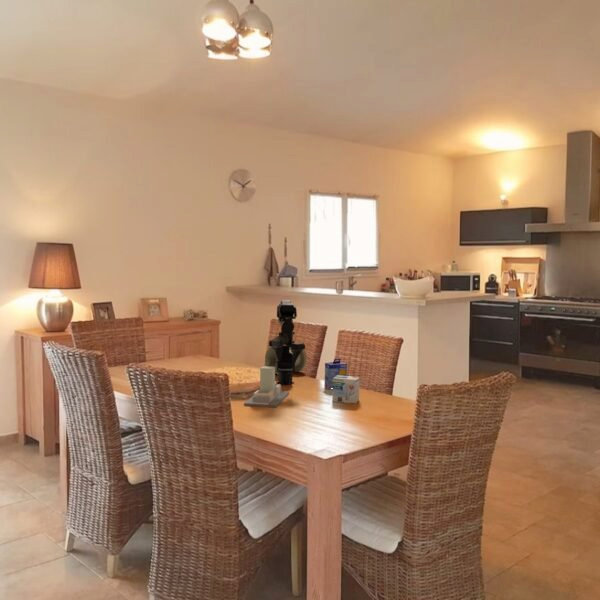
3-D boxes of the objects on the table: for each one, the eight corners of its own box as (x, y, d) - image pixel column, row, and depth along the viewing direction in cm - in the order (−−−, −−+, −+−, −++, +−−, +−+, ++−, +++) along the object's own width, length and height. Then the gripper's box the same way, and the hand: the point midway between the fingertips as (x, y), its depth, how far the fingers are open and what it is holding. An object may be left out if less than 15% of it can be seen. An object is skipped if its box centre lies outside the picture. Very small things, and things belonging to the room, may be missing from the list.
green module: (263, 394, 284) (263, 366, 283) (274, 395, 283) (275, 366, 282) (260, 397, 279) (260, 368, 278) (272, 397, 278) (272, 368, 277)
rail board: (259, 392, 295) (259, 381, 295) (289, 393, 293) (289, 382, 292) (244, 405, 270) (244, 393, 269) (276, 407, 267) (276, 395, 267)
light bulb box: (331, 401, 279) (332, 377, 278) (336, 398, 285) (337, 374, 284) (355, 404, 275) (355, 379, 274) (359, 400, 281) (360, 376, 280)
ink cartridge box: (328, 389, 302) (329, 359, 301) (323, 387, 307) (324, 358, 306) (347, 388, 306) (347, 358, 305) (341, 385, 311) (342, 356, 310)
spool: (283, 377, 331) (284, 348, 329) (265, 372, 341) (265, 345, 340) (306, 373, 342) (306, 345, 341) (287, 369, 353) (287, 342, 352)
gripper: (260, 329, 299) (260, 362, 300) (290, 333, 286) (289, 367, 288) (277, 327, 307) (276, 359, 308) (306, 331, 295) (305, 364, 296)
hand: (286, 362), depth 300 cm, fingers open, 9 cm apart
